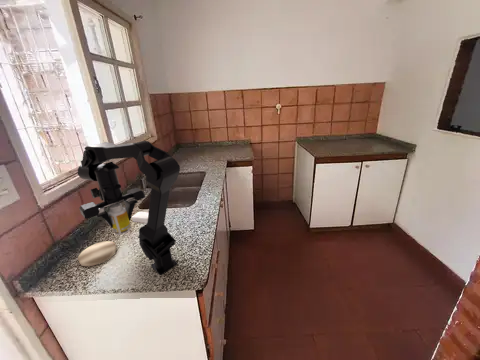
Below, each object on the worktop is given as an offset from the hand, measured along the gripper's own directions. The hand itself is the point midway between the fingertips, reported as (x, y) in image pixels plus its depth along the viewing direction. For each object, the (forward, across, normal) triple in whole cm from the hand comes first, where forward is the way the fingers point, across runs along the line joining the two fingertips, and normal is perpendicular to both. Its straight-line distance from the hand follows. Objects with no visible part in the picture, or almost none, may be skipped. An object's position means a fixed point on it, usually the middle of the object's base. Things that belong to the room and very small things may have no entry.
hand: (120, 223), depth 75 cm
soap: (+14, -15, -20) cm, 28 cm away
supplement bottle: (+3, 0, 0) cm, 3 cm away
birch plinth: (+13, +8, -9) cm, 18 cm away
